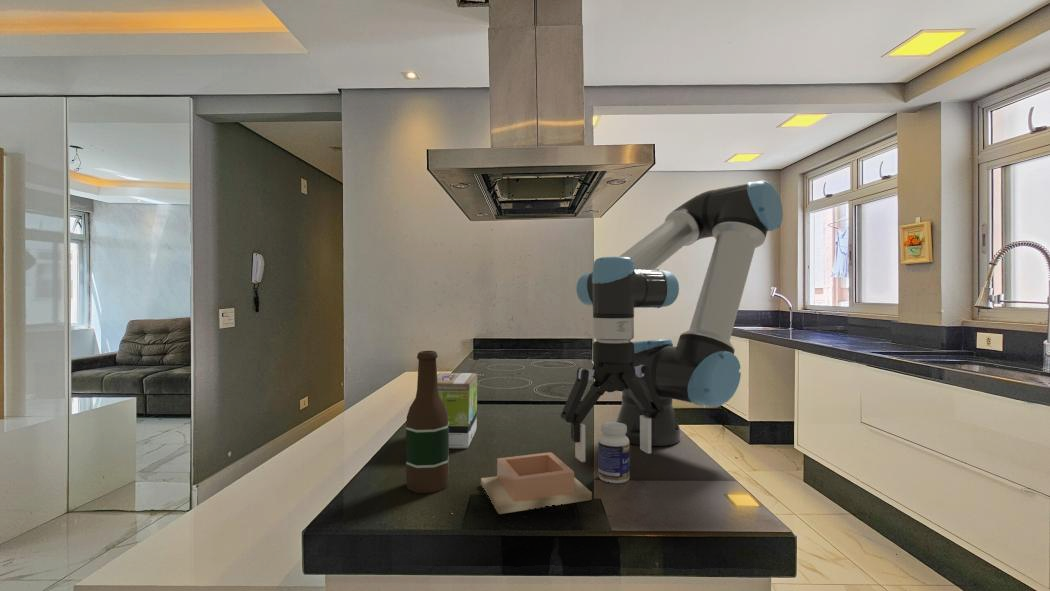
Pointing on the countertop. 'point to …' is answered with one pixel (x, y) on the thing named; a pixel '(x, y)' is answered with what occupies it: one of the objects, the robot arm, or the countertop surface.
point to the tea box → (459, 406)
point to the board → (507, 505)
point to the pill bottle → (613, 453)
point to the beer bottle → (427, 432)
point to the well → (535, 476)
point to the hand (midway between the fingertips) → (613, 455)
